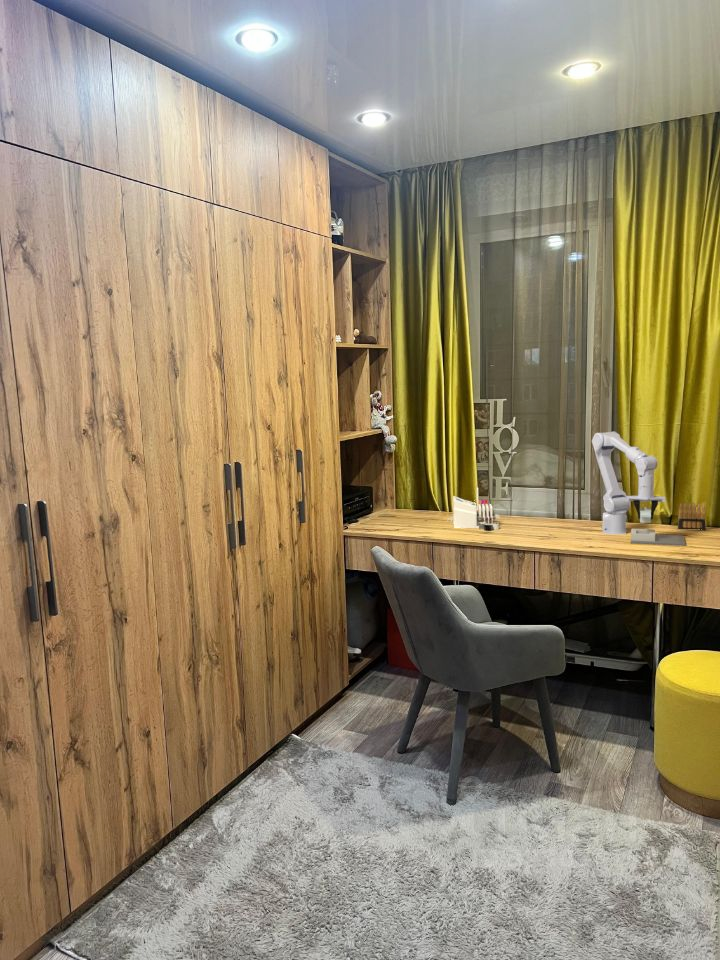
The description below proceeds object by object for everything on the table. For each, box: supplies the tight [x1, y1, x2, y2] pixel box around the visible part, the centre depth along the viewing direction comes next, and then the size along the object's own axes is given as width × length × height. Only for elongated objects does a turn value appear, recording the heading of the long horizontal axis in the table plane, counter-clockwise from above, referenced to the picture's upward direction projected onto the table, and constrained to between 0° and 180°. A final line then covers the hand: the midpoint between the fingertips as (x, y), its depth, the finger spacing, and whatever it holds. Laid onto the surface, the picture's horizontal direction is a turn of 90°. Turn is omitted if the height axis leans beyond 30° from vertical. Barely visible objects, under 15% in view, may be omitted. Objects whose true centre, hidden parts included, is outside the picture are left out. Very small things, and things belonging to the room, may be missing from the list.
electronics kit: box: [447, 487, 501, 532], centre depth 330 cm, size 45×26×16 cm, turn 174°
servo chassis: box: [630, 528, 686, 547], centre depth 280 cm, size 20×16×4 cm
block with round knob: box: [639, 506, 652, 524], centre depth 281 cm, size 4×10×5 cm, turn 158°
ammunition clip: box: [677, 502, 707, 531], centre depth 296 cm, size 11×2×12 cm, turn 69°
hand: (645, 518), depth 281 cm, fingers closed on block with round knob, 4 cm apart
